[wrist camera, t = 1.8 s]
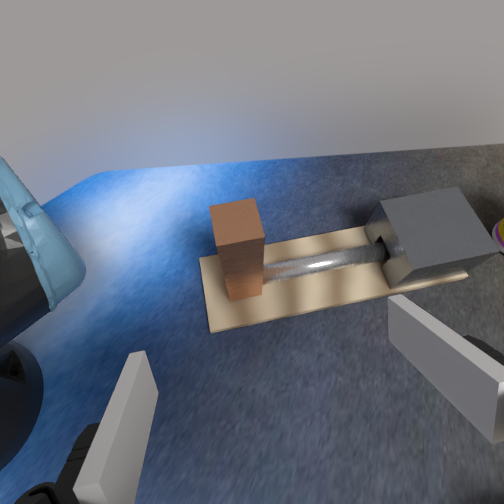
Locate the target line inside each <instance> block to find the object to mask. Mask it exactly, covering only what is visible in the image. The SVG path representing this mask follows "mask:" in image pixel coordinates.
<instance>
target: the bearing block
mask: <svg viewBox="0 0 504 504" xmlns="http://www.w3.org/2000/svg"><path fill="white" fill-rule="evenodd" d="M363 230H364V232H365V234H366V236H367V239H368V241H369V243H370V244H373V243H378V242H383V241H384V243H385V245H386V247H387V249H388V252H389V254H390V256H391V258H390V259H389V260H388V261H387V262H386V263H385V264H384V265H383V266H382V267H381V270H382V273H383V275H384V277H385V279H386V282H387V284H388V286H389V288H390V290H391V289H396V288H400V287H405V286H410V285H414V284H419V283H424V282H428V281H433V280H438V279H442V278H447V277H452V276H456V275H461V274H465V273H466V272H468V271H470V270H471V269H473V268H474V267H476V266H478V265H479V264H481V263H482V262H484V261H486V260H487V259H489V258H490V257H492V256H494V255H495V254H497V253H498V252H500V250H499V248H498V247H497V245H496V244H495V242H494V241H493V239H492V238H491V236H490V235H489V233H488V232H487V230H486V229H485V227H484V226H483V224H482V223H481V221H480V220H479V218H478V217H477V215H476V214H475V212H474V211H473V209H472V207H471V206H470V204H469V203H468V201H467V200H466V198H465V197H464V195H463V194H462V192H461V191H460V189H459V188H458V186H457V187H452V188H447V189H441V190H436V191H431V192H425V193H420V194H415V195H409V196H404V197H399V198H393V199H388V200H383V201H380V202H379V203H378V205H377V206H376V208H375V210H374V211H373V213H372V215H371V216H370V218H369V220H368V221H367V223H366V225H365V226H364V228H363Z"/></svg>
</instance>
